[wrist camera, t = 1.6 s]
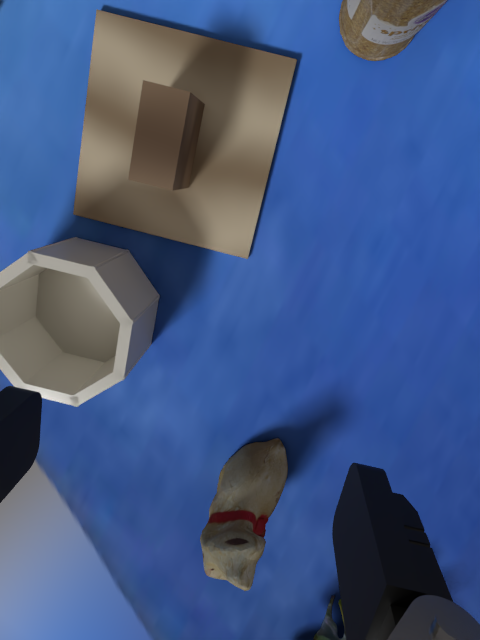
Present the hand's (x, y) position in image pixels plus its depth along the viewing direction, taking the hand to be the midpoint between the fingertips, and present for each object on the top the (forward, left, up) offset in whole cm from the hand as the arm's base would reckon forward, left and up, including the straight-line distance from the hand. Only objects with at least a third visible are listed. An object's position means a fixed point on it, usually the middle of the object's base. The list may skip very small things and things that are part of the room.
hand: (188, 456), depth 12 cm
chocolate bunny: (+16, +4, -21) cm, 26 cm away
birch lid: (-7, -6, -21) cm, 23 cm away
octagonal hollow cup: (+5, -10, -20) cm, 23 cm away
